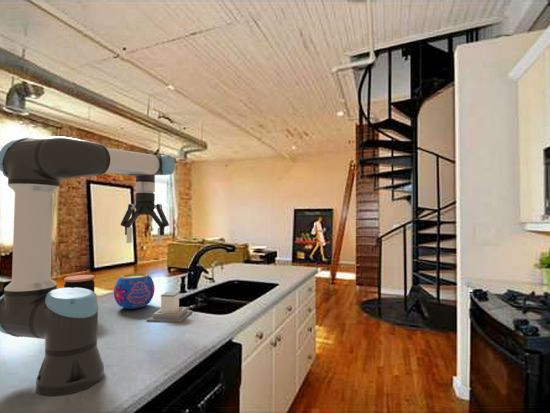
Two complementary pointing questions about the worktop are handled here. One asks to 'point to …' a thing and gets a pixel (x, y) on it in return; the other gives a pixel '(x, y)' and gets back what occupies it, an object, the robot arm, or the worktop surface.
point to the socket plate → (170, 316)
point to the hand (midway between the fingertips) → (144, 243)
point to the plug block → (170, 302)
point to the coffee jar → (80, 282)
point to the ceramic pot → (134, 290)
